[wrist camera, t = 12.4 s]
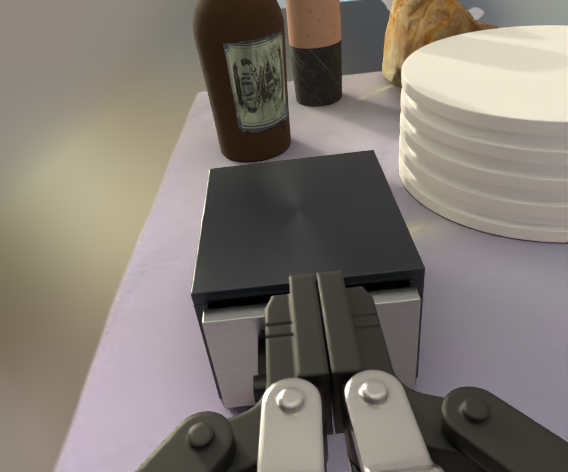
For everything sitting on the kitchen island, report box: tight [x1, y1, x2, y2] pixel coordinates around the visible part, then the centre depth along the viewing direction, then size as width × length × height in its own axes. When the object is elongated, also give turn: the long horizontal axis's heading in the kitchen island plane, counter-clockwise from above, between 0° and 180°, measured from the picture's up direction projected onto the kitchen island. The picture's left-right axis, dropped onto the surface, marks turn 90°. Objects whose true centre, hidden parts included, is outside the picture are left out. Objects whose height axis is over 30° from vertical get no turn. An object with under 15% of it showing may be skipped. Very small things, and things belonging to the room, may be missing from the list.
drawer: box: [202, 282, 421, 408], centre depth 36 cm, size 19×13×8 cm, turn 3°
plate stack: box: [399, 26, 568, 243], centre depth 54 cm, size 28×28×12 cm
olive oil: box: [193, 0, 291, 161], centre depth 62 cm, size 11×11×25 cm
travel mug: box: [286, 0, 342, 106], centre depth 75 cm, size 8×8×20 cm
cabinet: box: [191, 150, 425, 399], centre depth 39 cm, size 16×14×10 cm
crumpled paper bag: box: [382, 0, 498, 87], centre depth 75 cm, size 23×17×15 cm
